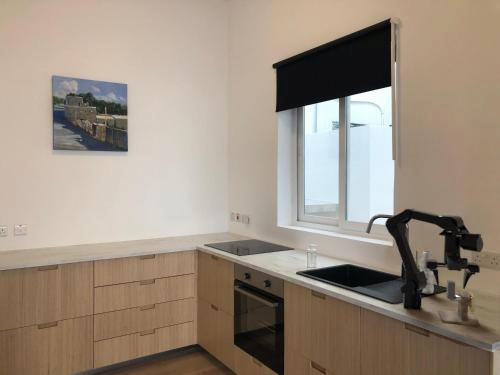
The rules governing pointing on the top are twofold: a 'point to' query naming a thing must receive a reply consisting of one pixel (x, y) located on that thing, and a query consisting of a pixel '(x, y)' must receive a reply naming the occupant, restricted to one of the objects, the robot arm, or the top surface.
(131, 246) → the top surface
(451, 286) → the shaft
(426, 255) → the plastic bottle
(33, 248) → the top surface
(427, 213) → the robot arm
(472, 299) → the bar
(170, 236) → the top surface
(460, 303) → the bearing stand
